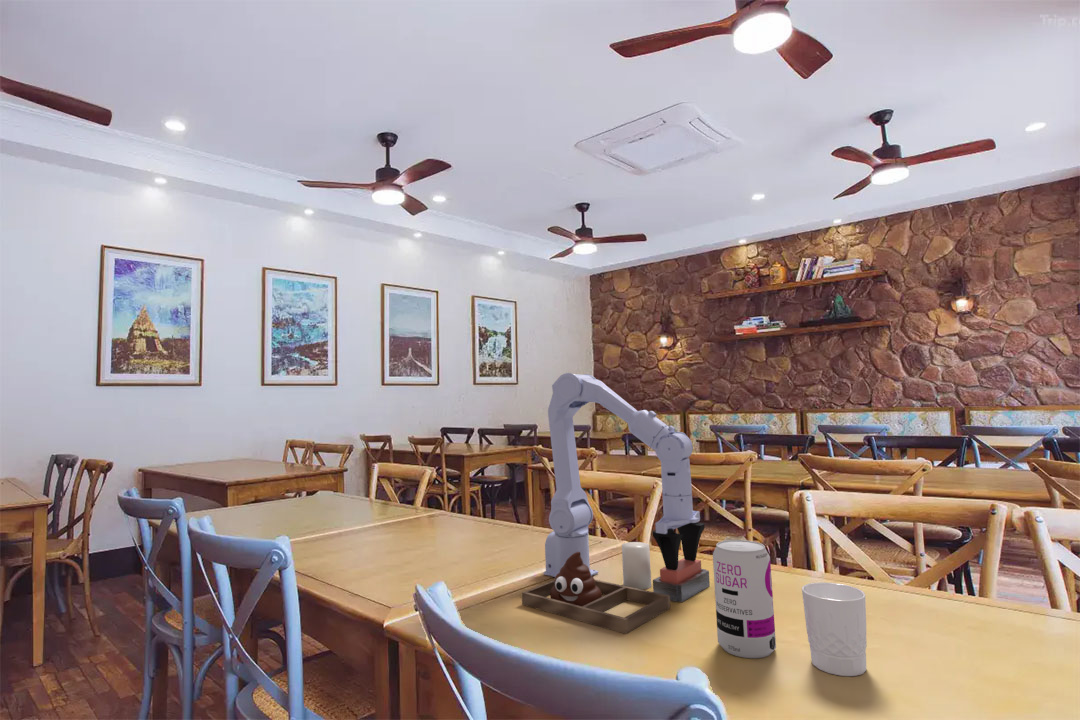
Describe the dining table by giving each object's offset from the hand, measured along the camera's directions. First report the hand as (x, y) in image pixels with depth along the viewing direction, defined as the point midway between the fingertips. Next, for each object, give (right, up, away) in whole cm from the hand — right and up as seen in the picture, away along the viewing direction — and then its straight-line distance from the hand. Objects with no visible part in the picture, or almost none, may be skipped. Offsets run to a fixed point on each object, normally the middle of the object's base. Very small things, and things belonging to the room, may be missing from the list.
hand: (681, 564), depth 112 cm
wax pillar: (-8, -6, +4) cm, 11 cm away
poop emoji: (-21, -6, -4) cm, 22 cm away
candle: (+11, -5, 0) cm, 12 cm away
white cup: (+13, -2, -33) cm, 36 cm away
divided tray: (-18, -5, -7) cm, 20 cm away
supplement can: (+3, -3, -27) cm, 27 cm away
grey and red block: (0, -5, 0) cm, 5 cm away
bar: (0, -3, 0) cm, 3 cm away
